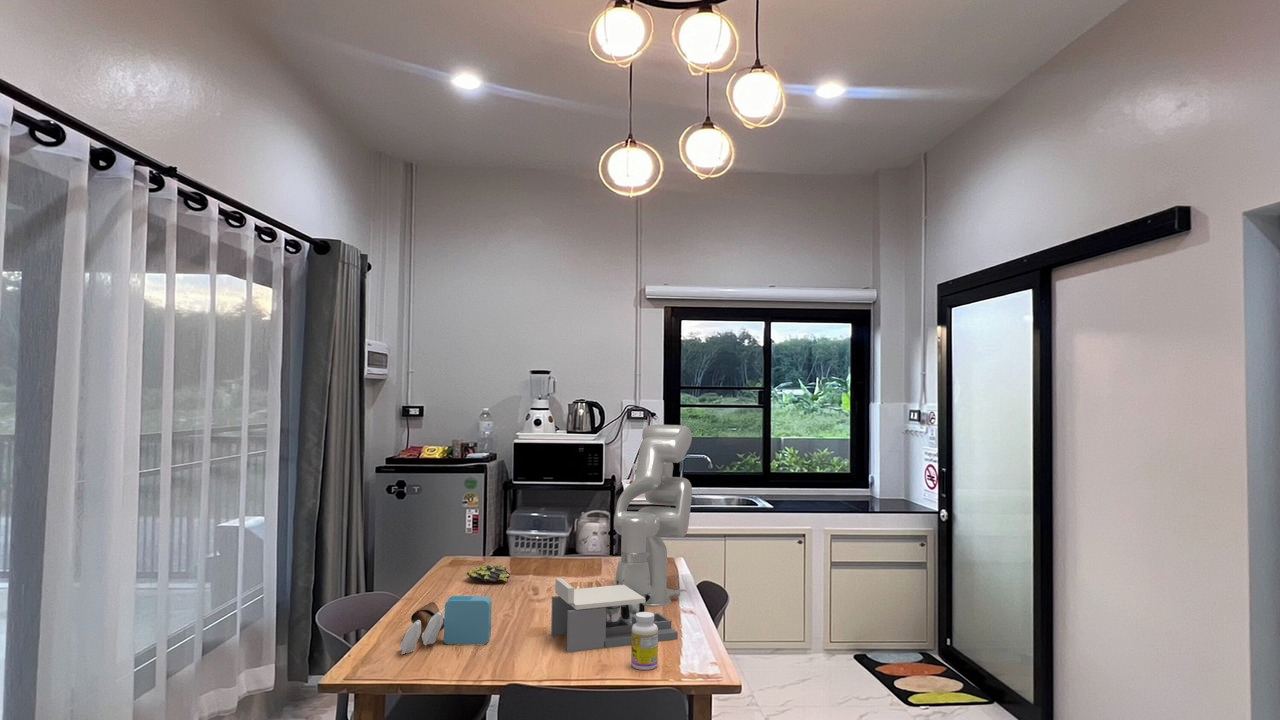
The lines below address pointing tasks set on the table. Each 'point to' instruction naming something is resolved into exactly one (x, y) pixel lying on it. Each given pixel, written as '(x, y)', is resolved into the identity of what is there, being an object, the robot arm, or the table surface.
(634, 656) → the supplement bottle
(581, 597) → the lid
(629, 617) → the silver metal shaker
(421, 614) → the sunglasses case
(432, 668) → the table surface
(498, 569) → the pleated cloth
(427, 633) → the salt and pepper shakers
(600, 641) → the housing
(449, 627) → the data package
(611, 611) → the glass spice jar
